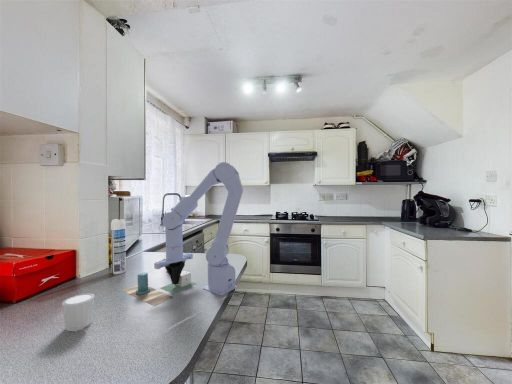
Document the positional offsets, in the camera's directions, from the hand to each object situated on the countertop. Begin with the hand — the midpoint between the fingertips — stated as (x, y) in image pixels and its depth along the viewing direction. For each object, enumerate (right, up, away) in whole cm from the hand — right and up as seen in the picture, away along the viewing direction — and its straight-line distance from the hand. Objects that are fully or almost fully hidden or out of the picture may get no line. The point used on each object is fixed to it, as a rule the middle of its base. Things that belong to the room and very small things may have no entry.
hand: (175, 283), depth 85 cm
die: (+2, -1, +3) cm, 4 cm away
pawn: (-10, -2, -3) cm, 10 cm away
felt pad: (+1, -2, +1) cm, 2 cm away
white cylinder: (-17, -3, -23) cm, 29 cm away
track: (-8, -2, -5) cm, 9 cm away
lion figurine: (-5, -2, +15) cm, 16 cm away
